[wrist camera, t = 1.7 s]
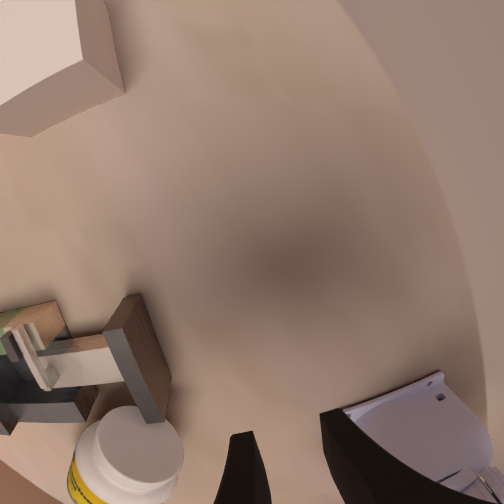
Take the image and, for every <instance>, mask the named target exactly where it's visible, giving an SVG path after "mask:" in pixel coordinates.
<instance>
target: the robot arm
mask: <svg viewBox="0 0 504 504" xmlns="http://www.w3.org/2000/svg"><path fill="white" fill-rule="evenodd" d="M347 414H348V415H347ZM320 423H321V432H322V441H323V451H324V455H325V458H326V461H327V463H328V466H329V469H330V472H331V475H332V478H333V480H334V482H335V484H336V486H337V488H338V490H339V492H340V494H341V496H342V498H343V500H344V502H345V504H504V475H503V473H502V472H501V471H500V470H499V469H497V467H495V466H494V467H490V465H491V462H492V457H493V446H492V441H491V438H490V436H489V433H488V431H487V429H486V427H485V426H484V424H483V423H482V422H481V420H480V419H479V418H478V417H477V416H476V415H475V414H474V413H473V412H472V411H471V410H470V409H469V408H468V407H467V406H466V405H465V404H464V403H463V402H462V400H461V399H460V398H459V397H458V396H457V395H456V394H455V393H454V392H453V391H452V390H451V389H450V388H449V387H448V386H447V385H446V384H445V383H444V373H442V372H441V371H440V372H437V373H435V374H433V375H431V376H428V377H426V378H424V379H422V380H420V381H417V382H415V383H413V384H410V385H408V386H406V387H403V388H401V389H398V390H396V391H393V392H391V393H388V394H386V395H383V396H381V397H378V398H375V399H373V400H370V401H367V402H364V403H362V404H359V405H356V406H353V407H350V408H347V409H344V410H342V409H340V408H337V409H334V410H330V411H327V412H324V413H320ZM480 476H482V477H483V479H484V480H485V483H486V485H487V486H488V487H489V488H490V490H491V491H492V492H493V493H491V492H490V491H489V489H488V488H487V487H486V485H485V484H484V483H483V481H482V480H481V479H480V478H479V477H480ZM214 504H272V501H271V493H270V488H269V484H268V480H267V475H266V471H265V467H264V464H263V461H262V458H261V455H260V452H259V449H258V446H257V443H256V440H255V437H254V434H253V431H248V432H243V433H238V434H233V435H232V436H231V437H230V443H229V450H228V456H227V460H226V465H225V469H224V473H223V476H222V480H221V483H220V486H219V490H218V493H217V496H216V499H215V501H214Z"/></svg>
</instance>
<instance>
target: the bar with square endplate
mask: <svg viewBox="0 0 504 504" xmlns="http://www.w3.org/2000/svg"><path fill="white" fill-rule="evenodd" d="M12 333H13V336H14V338H15V340H16V342H17V344H18V346H19V348H20V350H21V352H22V354H23V356H24V358H25V360H26V362H27V364H28V366H29V368H30V370H31V372H32V374H33V375H34V377H35V379H36V381H37V383H38V384H39V386H40V388H41V389H44V390H45V391H52V389H53V388H63V387H75V386H86V385H96V384H106V383H114V382H123V381H125V383H126V385H127V387H128V389H129V391H130V393H131V395H132V397H133V399H134V401H135V403H136V405H137V407H138V409H139V411H140V412H141V414H142V416H143V418H144V420H145V422H146V423H147V424H153V423H162V422H165V418H166V411H167V404H168V398H169V391H170V385H171V379H172V377H171V375H170V372H169V370H168V367H167V365H166V362H165V360H164V357H163V355H162V352H161V349H160V347H159V344H158V342H157V339H156V336H155V334H154V331H153V328H152V325H151V322H150V320H149V317H148V314H147V311H146V308H145V305H144V302H143V299H142V296H141V294H138V295H133V296H129V297H124V298H123V300H122V301H121V303H120V305H119V306H118V308H117V309H116V311H115V312H114V314H113V316H112V317H111V319H110V320H109V322H108V324H107V325H106V327H105V328H104V330H103V334H98V335H92V336H86V337H80V338H74V339H67V340H61V341H55V342H51V343H50V344H49V346H48V347H47V348H46V349H45V350H40V351H39V352H38V353H37V354H36V352H35V350H34V347H33V345H32V343H31V341H30V339H29V337H28V335H27V332H26V330H25V328H24V326H23V325H18V326H16V327H15V328H14V329H13V330H12Z"/></svg>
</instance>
